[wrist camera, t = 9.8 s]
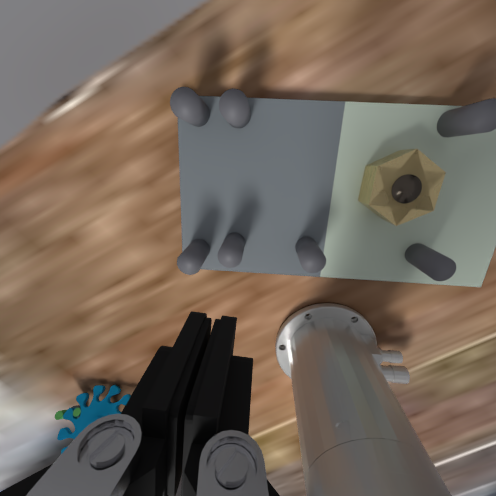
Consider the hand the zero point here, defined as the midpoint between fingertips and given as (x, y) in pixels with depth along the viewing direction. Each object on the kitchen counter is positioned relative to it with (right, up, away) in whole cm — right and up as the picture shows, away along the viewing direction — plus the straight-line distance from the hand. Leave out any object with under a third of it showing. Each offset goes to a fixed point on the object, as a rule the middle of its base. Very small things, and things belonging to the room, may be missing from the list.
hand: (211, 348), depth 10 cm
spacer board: (+11, +9, +19) cm, 24 cm away
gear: (-20, -19, +30) cm, 41 cm away
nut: (+16, +10, +17) cm, 25 cm away
